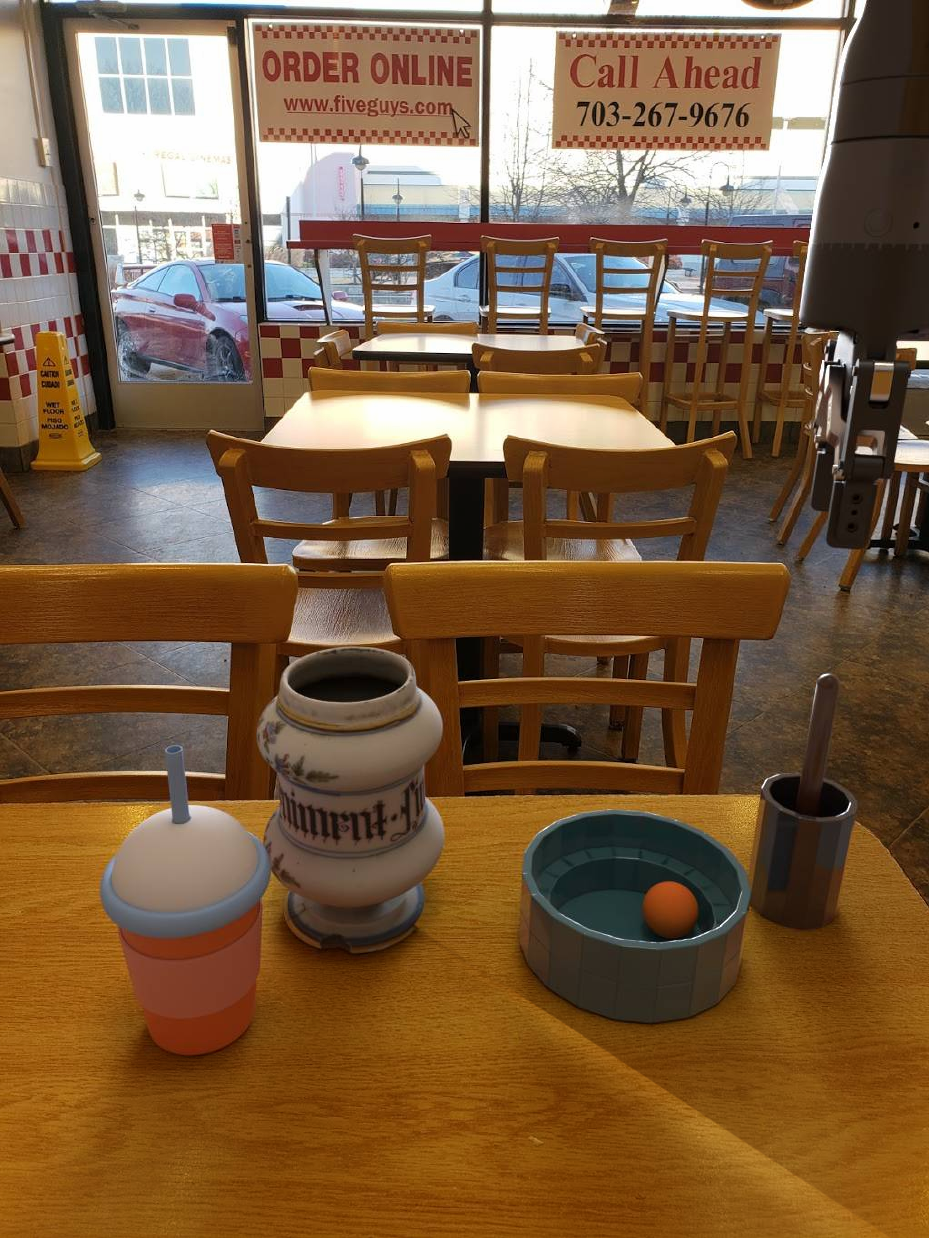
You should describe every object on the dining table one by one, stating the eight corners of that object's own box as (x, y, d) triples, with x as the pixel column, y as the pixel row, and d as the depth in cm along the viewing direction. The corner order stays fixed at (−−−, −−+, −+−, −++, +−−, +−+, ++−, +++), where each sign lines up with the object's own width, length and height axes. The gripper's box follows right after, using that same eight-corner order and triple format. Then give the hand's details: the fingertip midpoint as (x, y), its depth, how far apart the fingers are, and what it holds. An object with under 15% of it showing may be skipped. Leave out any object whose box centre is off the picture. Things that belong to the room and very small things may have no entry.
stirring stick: (779, 888, 67) (816, 666, 61) (811, 903, 66) (853, 677, 59) (770, 897, 66) (807, 672, 60) (803, 912, 65) (844, 683, 58)
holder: (768, 868, 70) (785, 763, 67) (849, 905, 66) (872, 795, 63) (729, 906, 66) (745, 796, 63) (814, 948, 62) (836, 832, 59)
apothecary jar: (247, 961, 60) (225, 709, 53) (291, 850, 71) (277, 630, 65) (435, 972, 59) (437, 718, 53) (450, 858, 71) (452, 637, 64)
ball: (658, 906, 65) (663, 863, 64) (705, 931, 63) (711, 886, 61) (629, 932, 62) (634, 887, 61) (677, 958, 60) (683, 912, 59)
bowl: (599, 855, 71) (605, 787, 69) (776, 944, 62) (789, 869, 60) (474, 949, 61) (476, 873, 59) (663, 1070, 53) (673, 986, 50)
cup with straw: (305, 978, 59) (291, 722, 52) (234, 1095, 51) (206, 809, 44) (176, 950, 61) (146, 700, 54) (88, 1057, 53) (41, 779, 46)
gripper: (995, 236, 44) (927, 568, 50) (929, 241, 57) (881, 504, 62) (824, 234, 45) (778, 556, 51) (798, 239, 58) (764, 495, 64)
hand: (835, 527), depth 57 cm, fingers open, 8 cm apart
